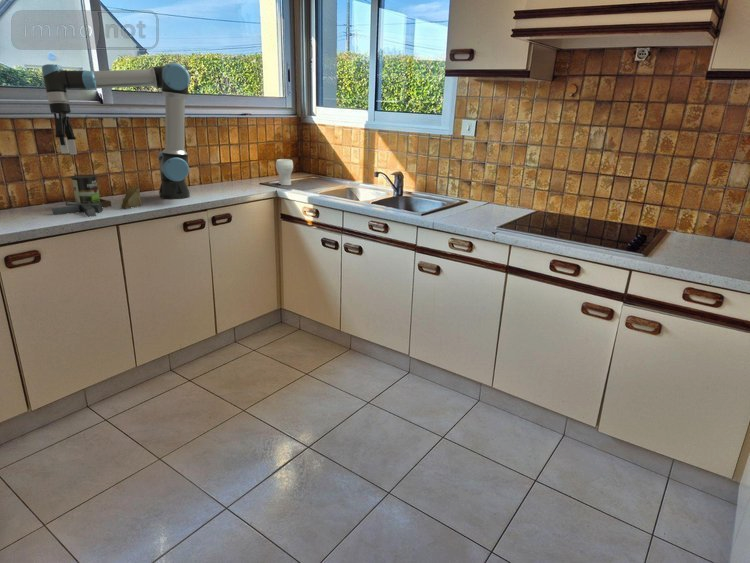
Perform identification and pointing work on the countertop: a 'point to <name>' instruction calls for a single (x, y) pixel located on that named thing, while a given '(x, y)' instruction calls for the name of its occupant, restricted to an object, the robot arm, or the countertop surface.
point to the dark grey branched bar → (78, 208)
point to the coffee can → (85, 188)
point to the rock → (131, 198)
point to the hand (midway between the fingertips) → (69, 154)
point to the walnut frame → (102, 201)
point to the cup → (284, 170)
